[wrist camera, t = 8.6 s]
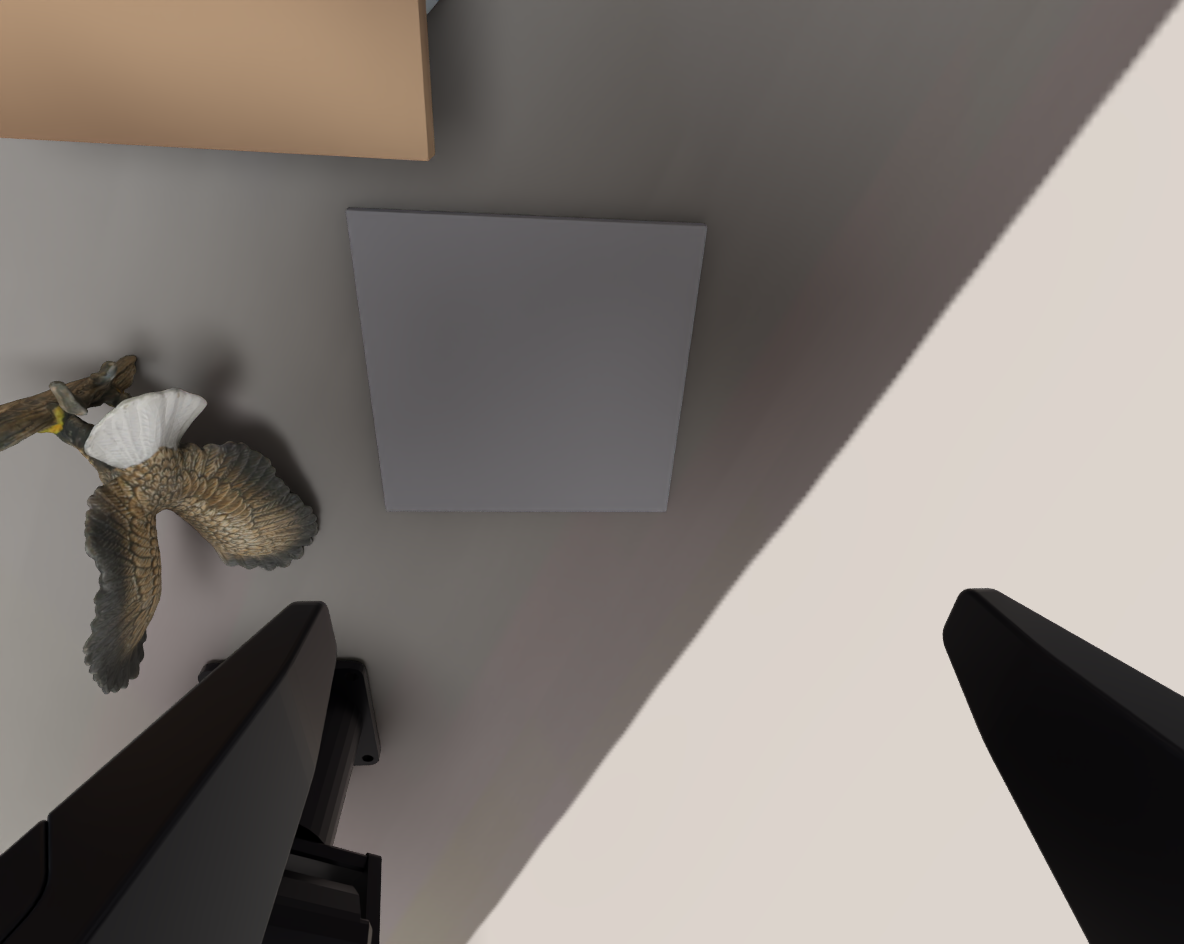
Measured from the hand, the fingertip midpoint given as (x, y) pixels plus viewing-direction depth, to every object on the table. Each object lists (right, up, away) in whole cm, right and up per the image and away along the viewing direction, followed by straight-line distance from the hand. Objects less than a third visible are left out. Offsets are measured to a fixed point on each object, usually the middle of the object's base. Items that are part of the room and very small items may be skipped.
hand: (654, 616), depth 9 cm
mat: (-3, +5, +12) cm, 13 cm away
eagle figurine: (-14, +2, +13) cm, 19 cm away
